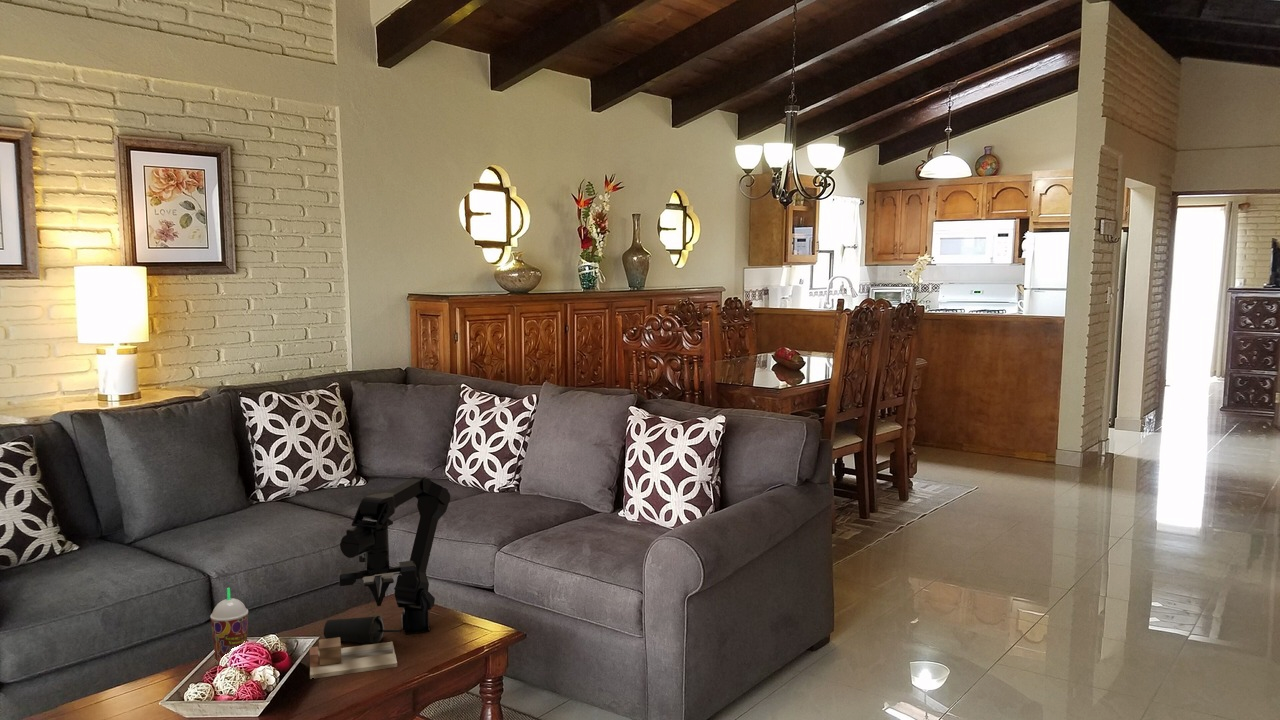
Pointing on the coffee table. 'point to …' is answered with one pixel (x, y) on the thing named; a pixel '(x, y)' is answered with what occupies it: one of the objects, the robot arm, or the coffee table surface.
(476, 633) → the coffee table surface
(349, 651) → the board
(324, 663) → the block
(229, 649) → the smoothie
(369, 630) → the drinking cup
